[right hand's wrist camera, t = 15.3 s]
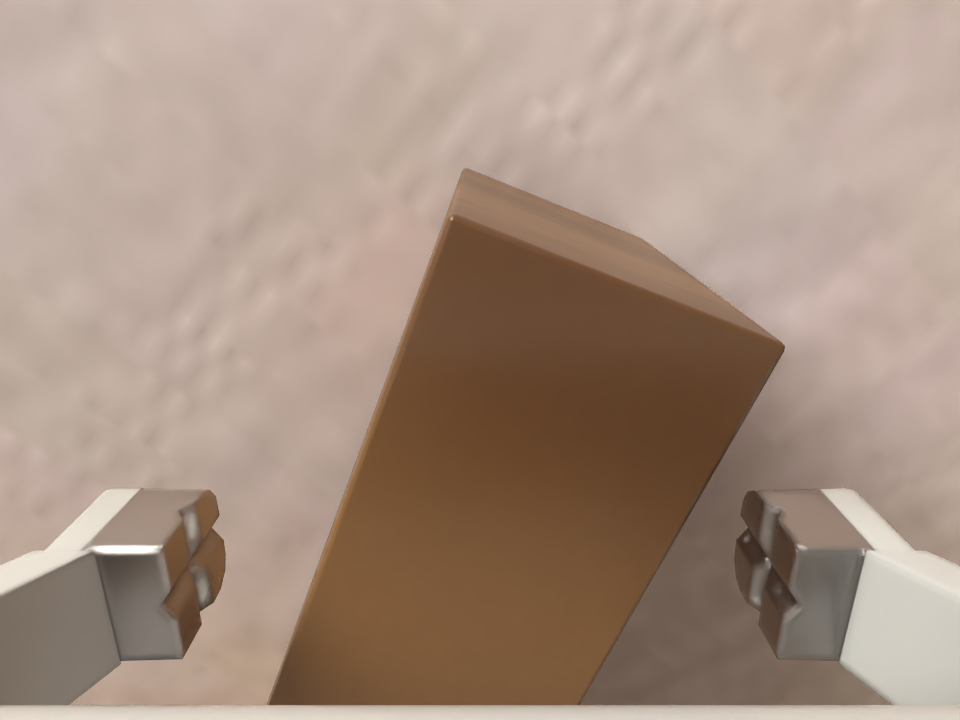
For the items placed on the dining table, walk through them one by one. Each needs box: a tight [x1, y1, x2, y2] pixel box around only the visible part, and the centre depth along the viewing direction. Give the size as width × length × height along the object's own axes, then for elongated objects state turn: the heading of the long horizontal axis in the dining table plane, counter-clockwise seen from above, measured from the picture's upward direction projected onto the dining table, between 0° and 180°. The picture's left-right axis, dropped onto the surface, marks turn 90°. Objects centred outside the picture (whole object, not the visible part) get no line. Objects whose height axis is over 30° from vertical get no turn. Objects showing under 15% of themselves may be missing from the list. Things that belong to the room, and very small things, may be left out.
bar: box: [267, 169, 785, 705], centre depth 16 cm, size 24×5×8 cm, turn 159°
